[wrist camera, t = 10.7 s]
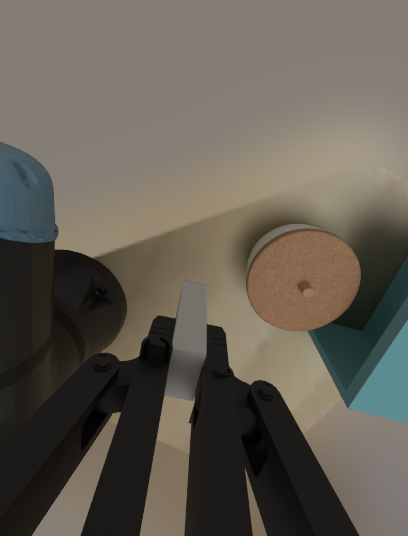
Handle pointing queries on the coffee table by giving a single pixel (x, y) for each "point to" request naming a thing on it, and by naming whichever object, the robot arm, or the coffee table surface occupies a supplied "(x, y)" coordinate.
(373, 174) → the coffee table surface
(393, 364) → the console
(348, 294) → the lidded jar
